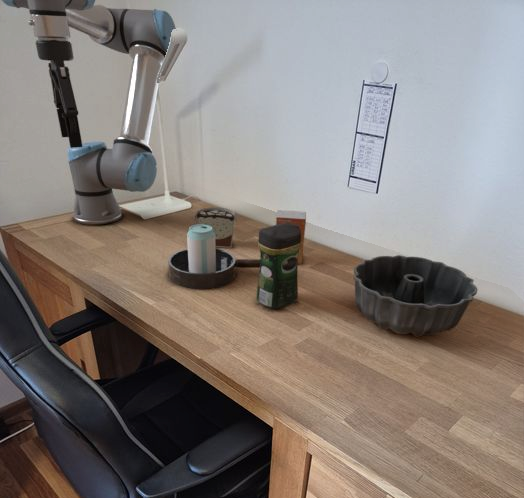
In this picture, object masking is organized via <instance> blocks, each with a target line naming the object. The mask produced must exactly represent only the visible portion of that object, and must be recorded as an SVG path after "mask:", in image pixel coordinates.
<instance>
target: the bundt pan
mask: <svg viewBox="0 0 524 498" xmlns="http://www.w3.org/2000/svg"><path fill="white" fill-rule="evenodd" d="M353 273H354V275H353V276H352V279H353V280H354V292H355V293H354V297H355V298H354V300H355V301H354V302H355V305H356V307H357V309H358V311H360V312H361V313H362V314H363V316H364V318H366V319H367V320H368V321H369V322H371V323H374V324H377V325H378V327H379V328H380V329H381V330H387V329H390V330H392V332H393V333H395V334H400V335H407V334H412V335H413V336H414V337H417V338H419V337H421V336H423V335H428V336H432V335H433V336H434V335H435V336H436V335H439V334H441V333H443V332H445V331H450V330H453V329H454V328H455V327H456V326H458V324H459V323H460V322H461V319H462V317H463V316H464V314H465V312H466V310H467V309H468V307H469V305H470V303H472V302H473V300H474V298H473V297H475V296H476V295H477V293H478V287H477V285H475V284H474V281H475V280H474V279H473V278H471V277H469V276H467V274H466V273H465V271H462V270H461V269H459V268H456V267H453V266H450V265H448V264H446V263H444V262H443V261H436V260H435V261H434V260H431V259H428V258H425V257H419V256H405V255H402V254H397V255H378V256H375V257H372V258H370V259H363V260H362V261H361V263H359V264H357V265H355V266H354V267H353Z"/></svg>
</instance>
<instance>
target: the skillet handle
mask: <svg viewBox="0 0 524 498" xmlns="http://www.w3.org/2000/svg"><path fill="white" fill-rule="evenodd" d="M236 268H237V269H260V259H259V258H254V259H253V258H244V259H243V258H238V259H237V258H236V259H235V269H236Z"/></svg>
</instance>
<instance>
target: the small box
mask: <svg viewBox="0 0 524 498" xmlns="http://www.w3.org/2000/svg"><path fill="white" fill-rule="evenodd" d="M286 222H290V223H292V224H295V225H297V226H299V227H300V230H301V246H300V250H299V254H298V265H302V263H303V253H304V243H305V232H306V223H307V212H306V211H297V210H282V209H281V210H280V209H277V210H276V217H275V225H278V224H282V223H286Z"/></svg>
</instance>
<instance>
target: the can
mask: <svg viewBox="0 0 524 498" xmlns="http://www.w3.org/2000/svg"><path fill="white" fill-rule="evenodd" d="M186 244H187V249H188V262H189V272H190V273H212V272H215V271H216V249H217V247H215V233H214V232H213V230H212V227H211V226H209V225H203V224H198V225H197V224H193V225H191V226H189V228H188V232H187V233H186Z"/></svg>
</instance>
